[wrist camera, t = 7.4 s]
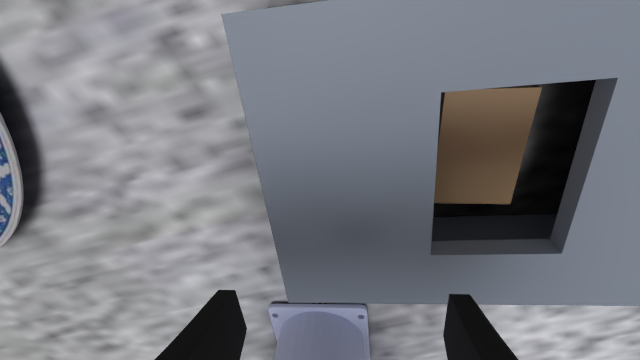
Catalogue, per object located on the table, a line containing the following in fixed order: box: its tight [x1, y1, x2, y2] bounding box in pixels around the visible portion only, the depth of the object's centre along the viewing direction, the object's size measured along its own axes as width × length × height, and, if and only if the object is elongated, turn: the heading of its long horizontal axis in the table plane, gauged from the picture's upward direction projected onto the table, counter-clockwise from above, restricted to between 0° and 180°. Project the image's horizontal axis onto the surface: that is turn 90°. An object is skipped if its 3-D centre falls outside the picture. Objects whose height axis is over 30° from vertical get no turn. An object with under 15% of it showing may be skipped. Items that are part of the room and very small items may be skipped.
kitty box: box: [221, 0, 640, 306], centre depth 15 cm, size 14×20×6 cm
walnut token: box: [434, 85, 542, 204], centre depth 17 cm, size 6×4×3 cm, turn 3°
